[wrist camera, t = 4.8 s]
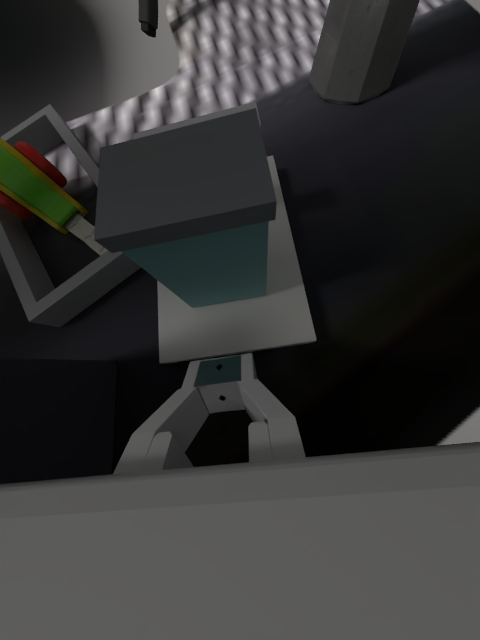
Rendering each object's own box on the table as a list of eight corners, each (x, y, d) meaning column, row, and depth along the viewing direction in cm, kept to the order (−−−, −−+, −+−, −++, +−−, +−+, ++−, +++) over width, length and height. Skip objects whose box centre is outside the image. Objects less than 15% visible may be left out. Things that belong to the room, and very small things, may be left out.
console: (311, 343, 15) (356, 322, 8) (168, 363, 16) (90, 362, 9) (272, 171, 19) (277, 55, 12) (162, 196, 20) (107, 103, 13)
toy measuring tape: (49, 168, 24) (-27, 98, 18) (149, 242, 19) (93, 182, 13) (12, 204, 23) (-81, 144, 17) (106, 288, 19) (25, 249, 12)
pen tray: (-8, 182, 25) (-38, 162, 22) (70, 129, 25) (49, 104, 23) (60, 327, 18) (28, 321, 16) (163, 251, 19) (148, 234, 16)
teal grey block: (269, 297, 14) (276, 201, 6) (189, 310, 15) (93, 240, 7) (260, 248, 16) (255, 107, 7) (186, 262, 16) (100, 148, 8)
